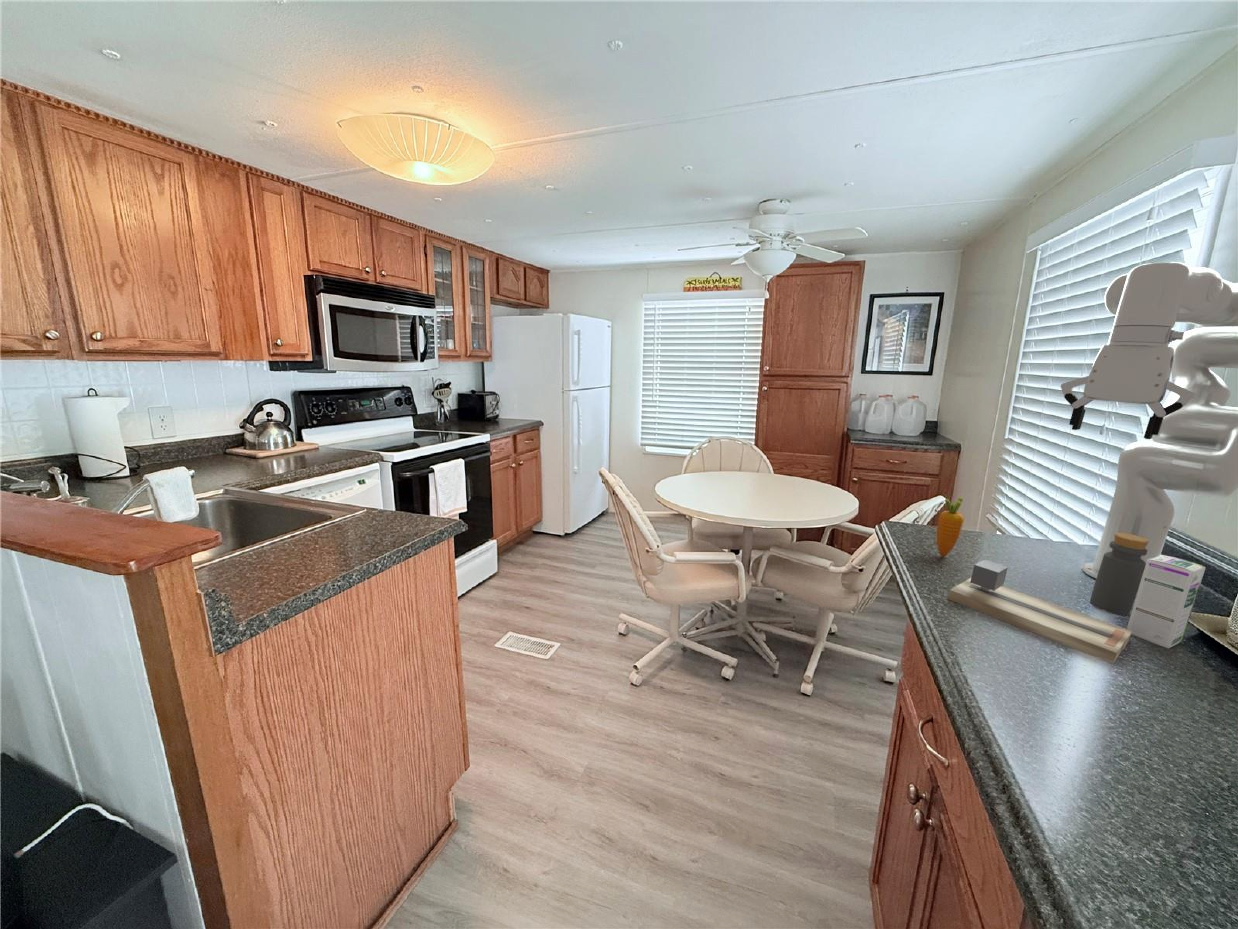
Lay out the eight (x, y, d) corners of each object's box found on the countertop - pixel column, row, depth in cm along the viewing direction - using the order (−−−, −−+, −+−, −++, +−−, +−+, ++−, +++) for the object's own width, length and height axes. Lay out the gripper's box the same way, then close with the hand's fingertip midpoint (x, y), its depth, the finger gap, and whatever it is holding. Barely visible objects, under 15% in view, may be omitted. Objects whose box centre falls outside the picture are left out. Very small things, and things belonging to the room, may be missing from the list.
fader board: (971, 584, 104) (974, 575, 104) (1129, 641, 86) (1132, 630, 85) (947, 598, 98) (949, 589, 97) (1112, 663, 79) (1116, 652, 78)
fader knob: (978, 582, 100) (984, 559, 99) (1002, 590, 97) (1008, 567, 96) (968, 587, 97) (974, 564, 96) (992, 596, 94) (998, 572, 93)
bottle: (1138, 617, 94) (1162, 544, 91) (1103, 612, 95) (1125, 540, 92) (1115, 602, 100) (1137, 533, 96) (1082, 598, 101) (1102, 529, 97)
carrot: (933, 558, 117) (946, 498, 114) (929, 551, 122) (941, 493, 118) (957, 563, 115) (971, 502, 112) (952, 555, 120) (965, 496, 116)
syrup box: (1169, 650, 84) (1197, 571, 80) (1123, 631, 89) (1147, 557, 85) (1181, 642, 86) (1209, 566, 83) (1135, 625, 91) (1159, 552, 88)
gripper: (1215, 341, 82) (1181, 441, 86) (1079, 338, 95) (1055, 425, 99) (1212, 337, 78) (1177, 443, 81) (1069, 335, 91) (1045, 426, 95)
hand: (1110, 433), depth 90 cm, fingers open, 9 cm apart
